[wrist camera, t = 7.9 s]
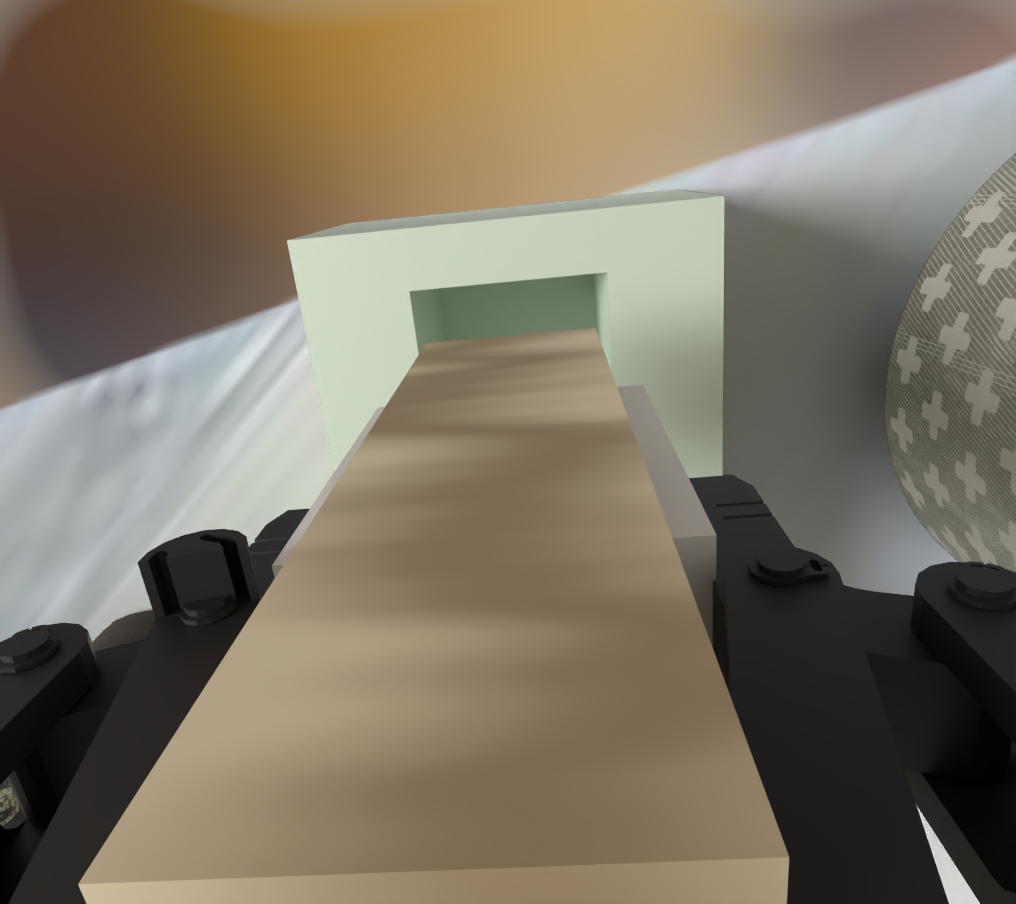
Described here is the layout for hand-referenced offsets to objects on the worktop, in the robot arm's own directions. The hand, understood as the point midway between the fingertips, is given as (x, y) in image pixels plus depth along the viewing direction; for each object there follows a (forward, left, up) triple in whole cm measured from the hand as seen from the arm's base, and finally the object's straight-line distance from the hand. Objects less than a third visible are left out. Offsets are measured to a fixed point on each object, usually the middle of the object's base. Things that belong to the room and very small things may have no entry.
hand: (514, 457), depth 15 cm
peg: (0, 0, -3) cm, 3 cm away
